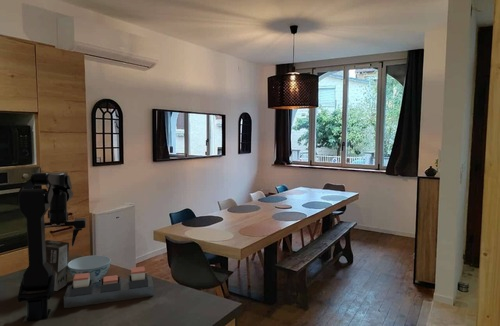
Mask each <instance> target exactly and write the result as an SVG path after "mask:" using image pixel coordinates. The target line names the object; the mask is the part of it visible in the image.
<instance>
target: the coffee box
mask: <svg viewBox="0 0 500 326" xmlns="http://www.w3.org/2000/svg"><path fill="white" fill-rule="evenodd" d="M45 246H46V261H47V262H48V263H51V264H52V266H53V274H54V276H55V284H54V292H58V291H59V290H60V289H62V288H64V287H65V286H66V285H67V284H68V272H69V270H68V263H69V253H70V250H69V249H70V242H66V241H59V240H58V241H57V240H51V239H50V240H48V239H45ZM67 286H68V285H67Z"/></svg>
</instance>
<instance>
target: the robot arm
mask: <svg viewBox="0 0 500 326" xmlns="http://www.w3.org/2000/svg"><path fill="white" fill-rule="evenodd" d="M70 177H71V176H70V175H68V173H67V172H34V173H32V174H31V175H30V178H29V179H28V180H26V181H25V182H24V183H23V184H21V185H20V189H19V191H18V193H17V196H16V202H17V205H18V208H19V209H18V210H19V212H20V213H21V214H22V215H23V217H24V218H25V219H26V233H27V234H26V235H27V253H28V257H27V258H28V266H27V268H26V269H25V271H24V273H23V274H22V275H23V276H22V279H21V282H20V284H19V285H20V286H19V290H18V294H17V301H18V303H22V302H25V313H26V314H25V317H24V319H23V321H22V323H28V322H29V323H30V322H37V321H42V320H48V319H49V316H50V314H51V312H52V309H51V308H49V300H50V299H51V298H52V296H53V295H54V293H55V291H54V284H55V276H54V274H53V266H52V264H51V263H48V262H47V261H46V246H45V241H46V232H45V231H46V228H62V227H73V229H72V230H73V231H72V238H71V246H72V247H74V245H75V242H76V239H77V235H78V234H79V232H80V231H82V230H83V229H85V228H86V227H87V218H86V217H81V218H80V217H79V218H78V217H77V218H74V220H69V212H68V202H69V201H70V200H72V199H73V196H74V193H73V191H72V189H73V185H72V181H71V178H70ZM35 186H45V187H46V188H35ZM46 214H47V219H48V220H49V222H45V215H46Z"/></svg>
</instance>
